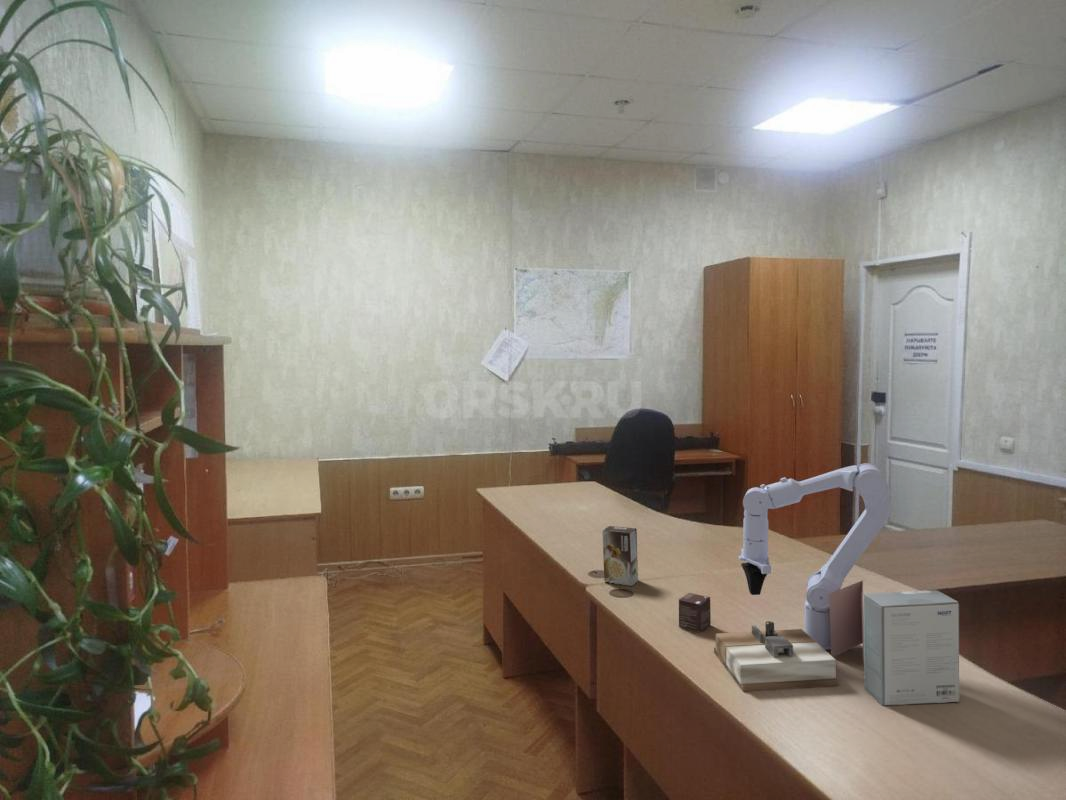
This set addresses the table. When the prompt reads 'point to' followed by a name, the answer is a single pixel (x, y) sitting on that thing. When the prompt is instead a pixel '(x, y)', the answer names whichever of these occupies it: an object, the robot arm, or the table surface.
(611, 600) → the table surface
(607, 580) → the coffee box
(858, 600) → the greeting card
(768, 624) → the bolt
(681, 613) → the box
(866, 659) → the hard drive box
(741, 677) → the wooden board with latch
